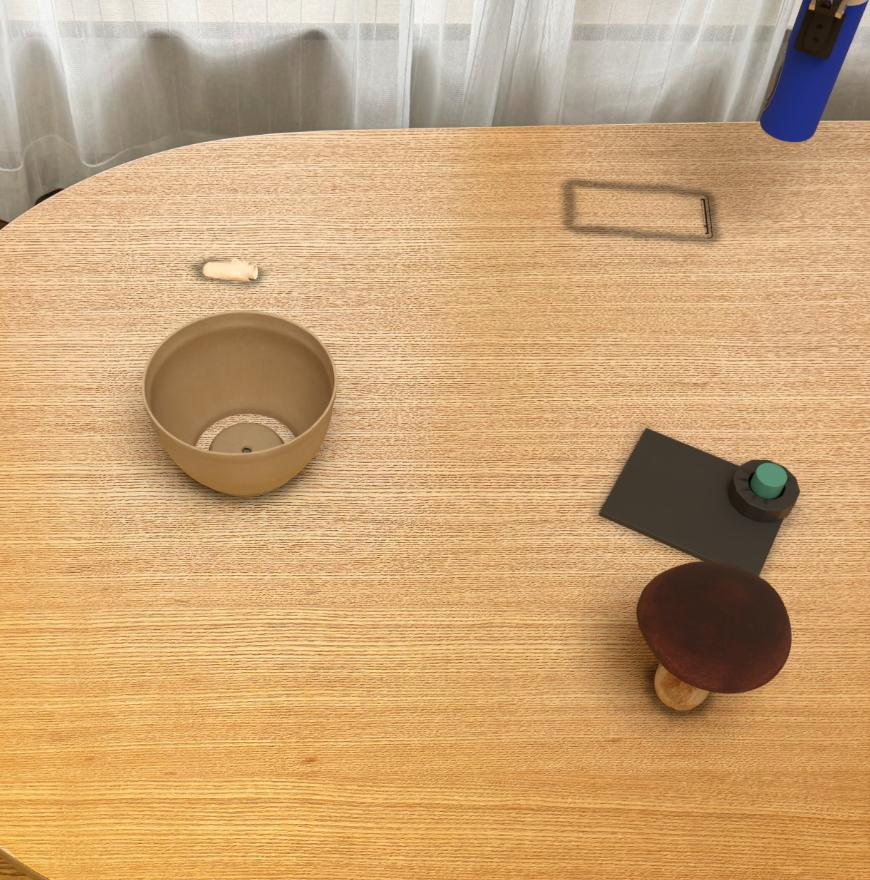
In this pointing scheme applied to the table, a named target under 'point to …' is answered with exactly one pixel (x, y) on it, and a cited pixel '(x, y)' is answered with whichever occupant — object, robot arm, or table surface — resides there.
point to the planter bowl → (240, 398)
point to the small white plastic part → (231, 270)
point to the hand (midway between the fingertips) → (822, 34)
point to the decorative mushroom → (712, 631)
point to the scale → (698, 502)
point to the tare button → (768, 480)
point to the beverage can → (806, 82)
